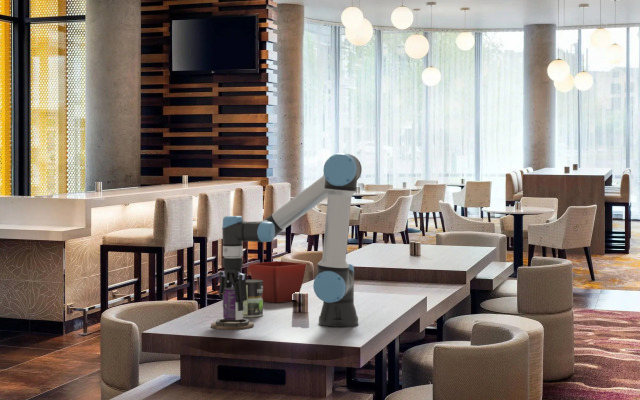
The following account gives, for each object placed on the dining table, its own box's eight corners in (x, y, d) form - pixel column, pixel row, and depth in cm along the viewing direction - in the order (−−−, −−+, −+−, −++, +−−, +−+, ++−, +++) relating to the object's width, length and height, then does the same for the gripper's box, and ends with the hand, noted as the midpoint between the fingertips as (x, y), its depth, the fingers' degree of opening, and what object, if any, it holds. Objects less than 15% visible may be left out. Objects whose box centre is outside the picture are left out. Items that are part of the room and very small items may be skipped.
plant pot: (247, 300, 378) (247, 263, 378) (280, 296, 391) (280, 260, 391) (274, 305, 364) (274, 266, 364) (307, 301, 377) (307, 263, 377)
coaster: (262, 326, 312) (262, 321, 312) (227, 331, 301) (227, 326, 301) (236, 320, 324) (236, 315, 324) (202, 325, 313) (202, 320, 313)
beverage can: (232, 317, 317) (232, 286, 317) (246, 319, 313) (246, 287, 313) (219, 319, 312) (219, 287, 312) (232, 321, 307) (232, 289, 307)
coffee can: (266, 313, 341) (266, 279, 341) (259, 317, 331) (259, 282, 331) (241, 312, 343) (241, 278, 343) (234, 317, 333) (234, 281, 333)
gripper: (208, 255, 317) (209, 316, 317) (240, 259, 302) (240, 322, 302) (225, 254, 322) (225, 313, 322) (257, 258, 307) (257, 320, 308)
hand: (232, 318), depth 312 cm, fingers closed on beverage can, 7 cm apart
